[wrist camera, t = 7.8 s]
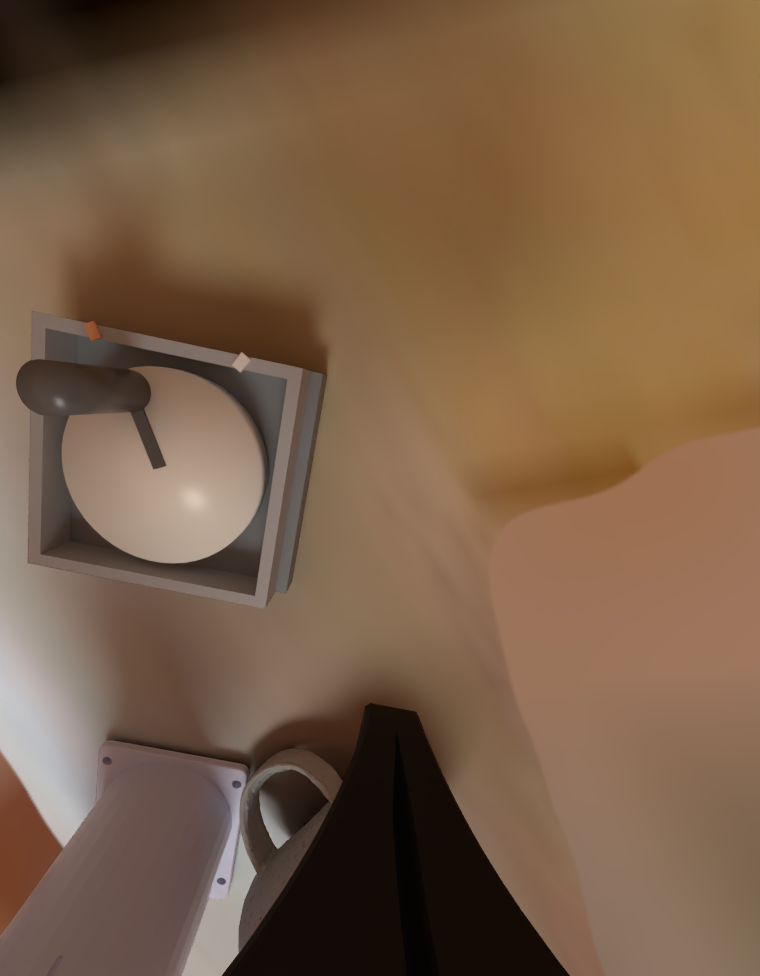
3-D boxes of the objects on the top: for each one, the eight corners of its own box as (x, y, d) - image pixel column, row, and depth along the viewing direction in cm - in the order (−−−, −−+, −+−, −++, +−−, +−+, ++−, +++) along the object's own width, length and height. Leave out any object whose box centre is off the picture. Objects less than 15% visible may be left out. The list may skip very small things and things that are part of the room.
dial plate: (291, 581, 20) (276, 612, 17) (67, 538, 20) (13, 561, 17) (327, 372, 18) (316, 367, 15) (75, 319, 17) (15, 304, 15)
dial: (292, 529, 18) (257, 579, 13) (125, 573, 18) (29, 637, 13) (230, 343, 16) (162, 319, 11) (48, 398, 17) (-93, 398, 12)
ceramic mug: (455, 808, 23) (487, 1008, 15) (367, 894, 24) (356, 1115, 17) (303, 704, 22) (256, 864, 14) (220, 800, 23) (137, 992, 16)
